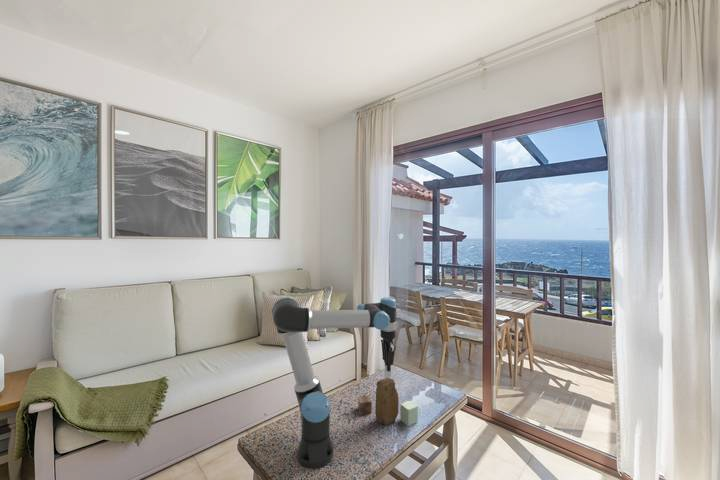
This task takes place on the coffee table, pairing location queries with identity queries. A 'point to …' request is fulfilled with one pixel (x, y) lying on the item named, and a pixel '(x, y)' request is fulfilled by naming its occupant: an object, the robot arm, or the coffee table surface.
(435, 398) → the coffee table surface
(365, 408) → the walnut block
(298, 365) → the robot arm
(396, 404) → the pitted sandstone rock
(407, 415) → the green block
